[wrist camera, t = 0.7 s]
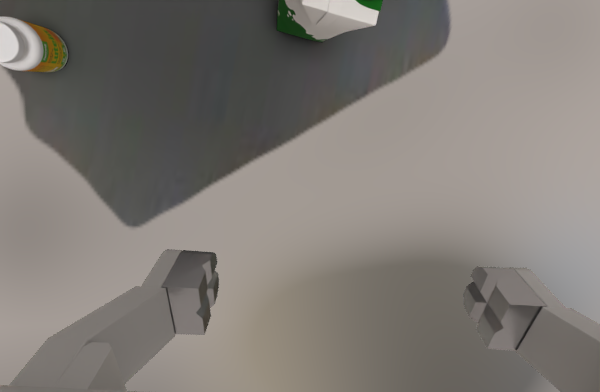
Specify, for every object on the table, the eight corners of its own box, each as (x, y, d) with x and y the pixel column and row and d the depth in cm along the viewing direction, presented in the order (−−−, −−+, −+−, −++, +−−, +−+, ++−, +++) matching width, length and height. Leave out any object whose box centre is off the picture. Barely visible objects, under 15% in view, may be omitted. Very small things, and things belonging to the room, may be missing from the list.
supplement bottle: (75, 69, 42) (36, 66, 33) (31, 75, 41) (-23, 73, 32) (59, 24, 40) (12, 8, 31) (12, 28, 39) (-50, 13, 30)
